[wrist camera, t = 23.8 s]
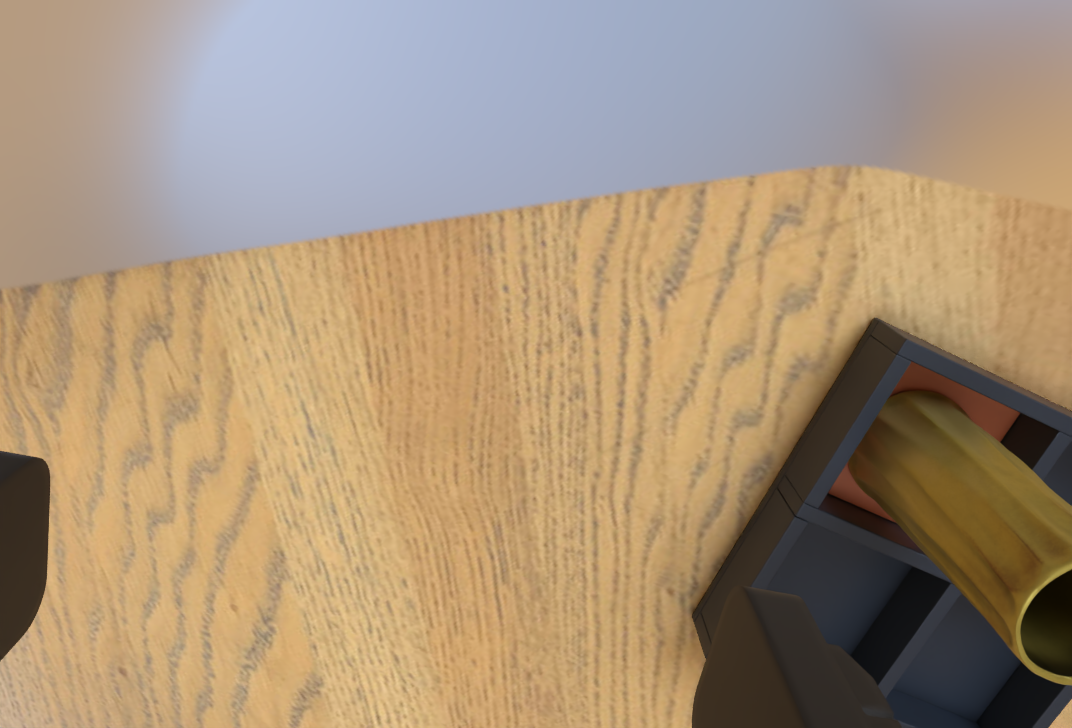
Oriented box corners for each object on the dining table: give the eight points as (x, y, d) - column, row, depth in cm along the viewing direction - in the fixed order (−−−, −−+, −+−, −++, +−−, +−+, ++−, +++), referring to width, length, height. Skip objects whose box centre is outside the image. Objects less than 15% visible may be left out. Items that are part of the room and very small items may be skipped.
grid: (874, 316, 40) (906, 338, 37) (1179, 463, 43) (1236, 496, 40) (691, 615, 46) (704, 659, 42) (973, 729, 48) (1008, 778, 45)
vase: (950, 508, 43) (1147, 706, 29) (832, 495, 42) (977, 689, 29) (985, 396, 41) (1214, 552, 27) (862, 382, 41) (1032, 533, 27)
